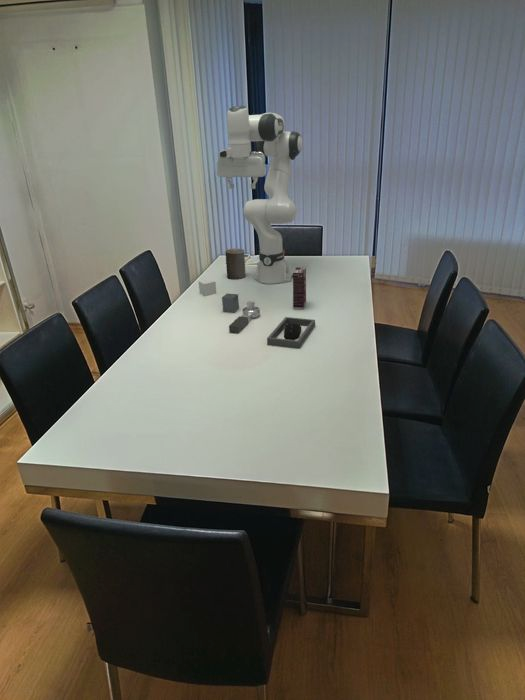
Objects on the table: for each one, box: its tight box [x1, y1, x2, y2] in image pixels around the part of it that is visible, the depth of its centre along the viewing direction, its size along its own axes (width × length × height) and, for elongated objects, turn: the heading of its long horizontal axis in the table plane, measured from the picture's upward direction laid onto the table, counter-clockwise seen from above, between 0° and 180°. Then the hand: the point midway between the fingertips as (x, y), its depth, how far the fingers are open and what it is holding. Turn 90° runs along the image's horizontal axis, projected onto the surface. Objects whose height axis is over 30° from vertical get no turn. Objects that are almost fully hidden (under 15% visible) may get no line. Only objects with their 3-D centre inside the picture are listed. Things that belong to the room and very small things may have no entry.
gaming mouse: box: [283, 323, 302, 340], centre depth 181 cm, size 6×15×4 cm, turn 172°
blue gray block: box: [221, 292, 240, 314], centre depth 206 cm, size 5×5×6 cm
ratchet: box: [228, 300, 261, 334], centre depth 193 cm, size 22×7×6 cm, turn 159°
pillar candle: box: [225, 248, 246, 281], centre depth 248 cm, size 10×10×15 cm
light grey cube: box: [198, 278, 218, 297], centre depth 228 cm, size 6×6×6 cm
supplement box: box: [292, 266, 307, 310], centre depth 205 cm, size 9×5×16 cm, turn 168°
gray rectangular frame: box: [266, 316, 316, 349], centre depth 181 cm, size 21×12×2 cm, turn 159°
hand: (242, 188), depth 197 cm, fingers open, 8 cm apart
